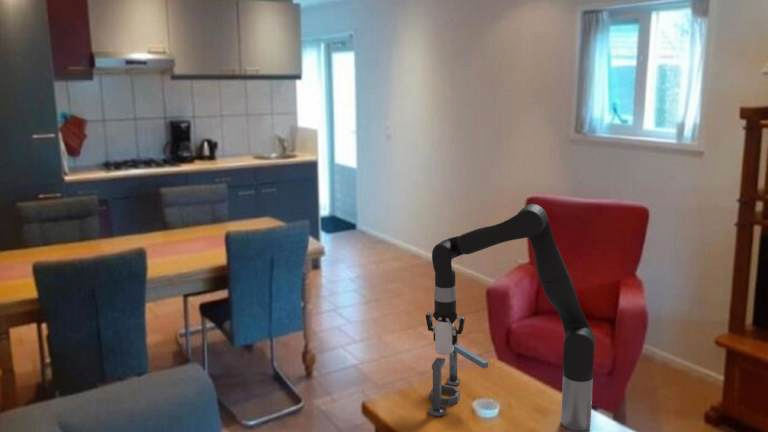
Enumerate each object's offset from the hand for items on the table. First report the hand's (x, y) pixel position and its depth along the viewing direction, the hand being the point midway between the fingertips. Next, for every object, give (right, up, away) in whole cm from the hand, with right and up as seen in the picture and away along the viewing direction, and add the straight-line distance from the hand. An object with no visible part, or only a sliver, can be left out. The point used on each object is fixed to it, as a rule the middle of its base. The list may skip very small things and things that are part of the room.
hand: (445, 343), depth 219 cm
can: (0, -3, +1) cm, 3 cm away
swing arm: (+8, -6, +5) cm, 12 cm away
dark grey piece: (-3, -23, -5) cm, 24 cm away
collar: (0, -21, +5) cm, 21 cm away
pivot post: (+5, -18, +16) cm, 24 cm away
